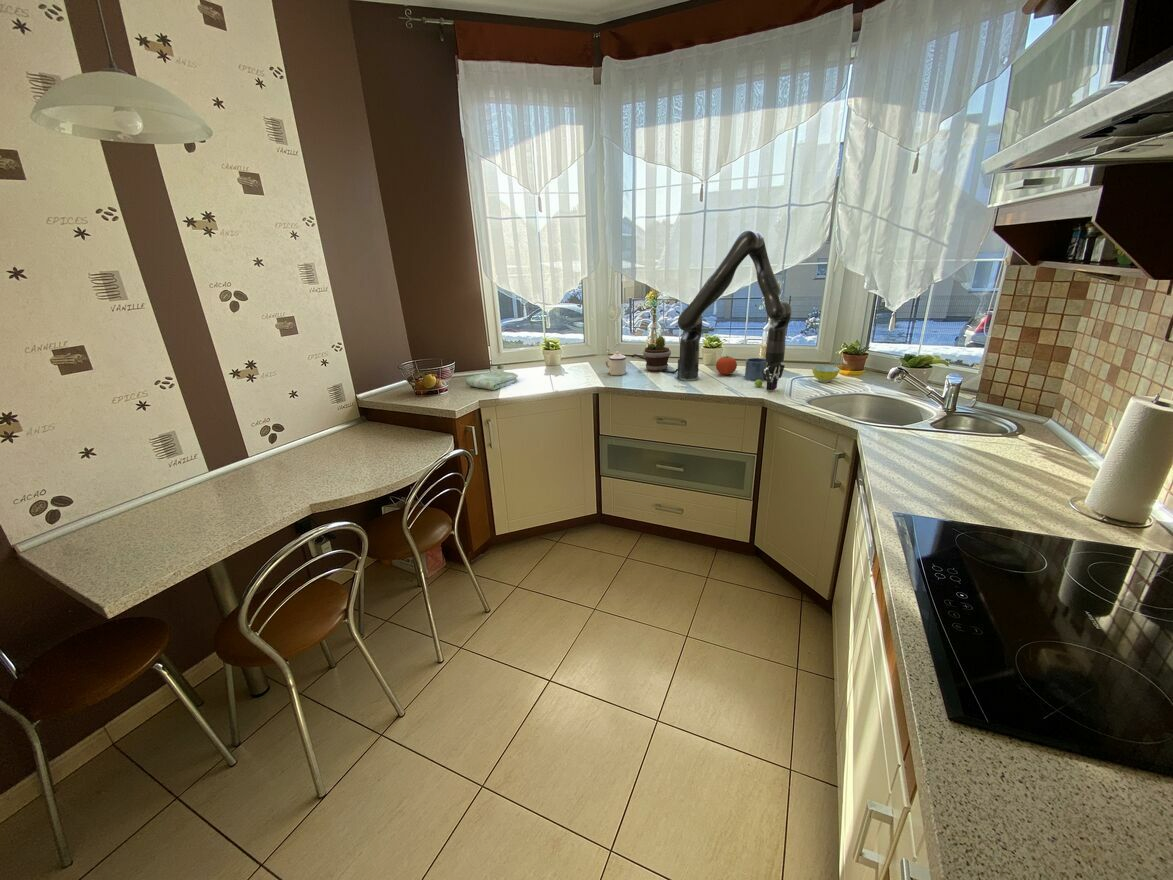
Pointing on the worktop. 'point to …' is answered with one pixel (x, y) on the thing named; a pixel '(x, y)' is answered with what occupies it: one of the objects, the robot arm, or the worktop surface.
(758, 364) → the cup
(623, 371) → the teacup with lid
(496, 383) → the towel
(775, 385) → the purple grape
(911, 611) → the worktop surface
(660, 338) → the flowerpot
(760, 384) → the green grape
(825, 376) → the bowl
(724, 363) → the tomato
